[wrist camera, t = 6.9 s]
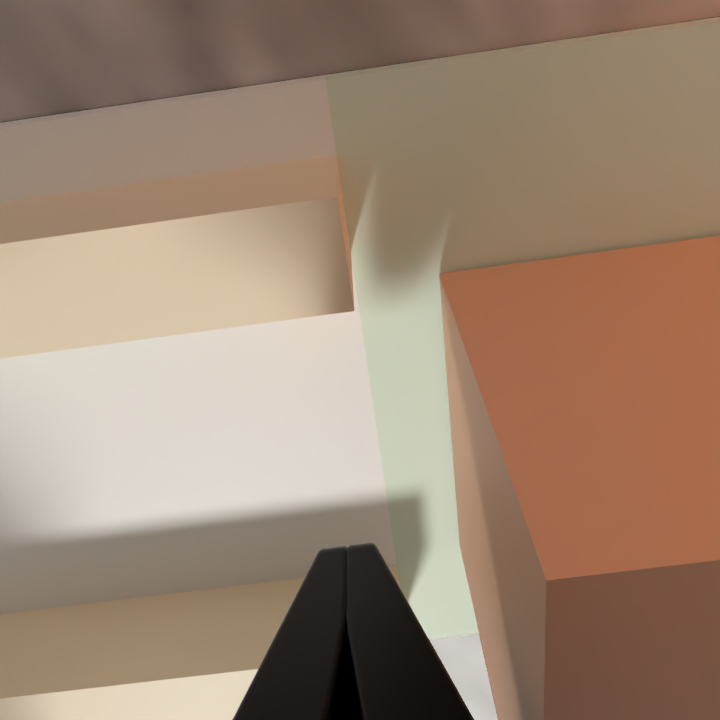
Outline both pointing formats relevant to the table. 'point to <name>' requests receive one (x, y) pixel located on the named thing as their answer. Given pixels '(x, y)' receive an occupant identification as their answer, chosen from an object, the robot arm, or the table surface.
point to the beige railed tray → (285, 338)
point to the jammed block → (591, 478)
